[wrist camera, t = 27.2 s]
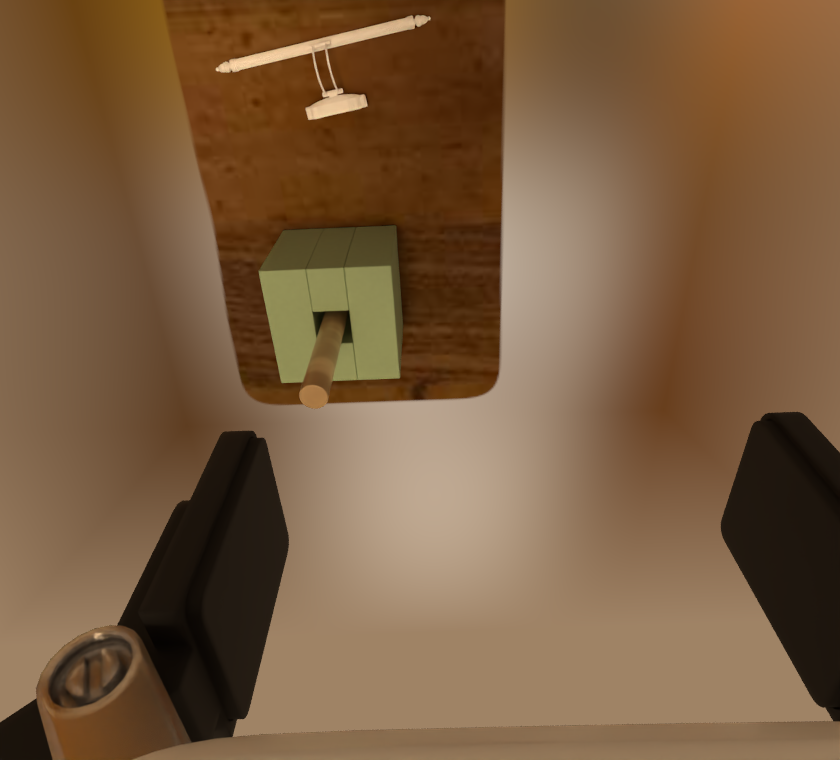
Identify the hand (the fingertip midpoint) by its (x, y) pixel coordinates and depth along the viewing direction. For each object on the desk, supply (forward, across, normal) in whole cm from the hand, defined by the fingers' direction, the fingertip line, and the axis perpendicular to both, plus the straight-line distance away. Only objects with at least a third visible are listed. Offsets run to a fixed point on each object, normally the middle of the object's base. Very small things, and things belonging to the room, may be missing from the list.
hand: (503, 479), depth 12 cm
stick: (+34, +8, +10) cm, 37 cm away
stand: (+34, +8, +10) cm, 36 cm away
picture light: (+34, +8, -4) cm, 35 cm away
